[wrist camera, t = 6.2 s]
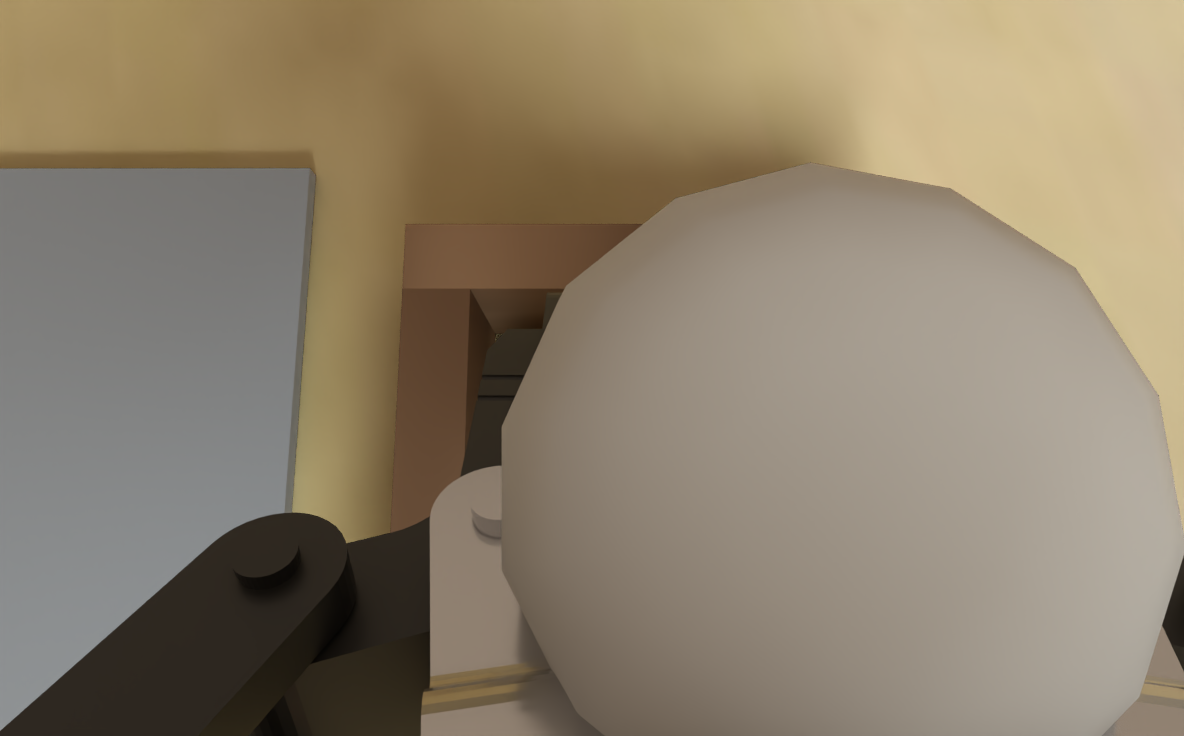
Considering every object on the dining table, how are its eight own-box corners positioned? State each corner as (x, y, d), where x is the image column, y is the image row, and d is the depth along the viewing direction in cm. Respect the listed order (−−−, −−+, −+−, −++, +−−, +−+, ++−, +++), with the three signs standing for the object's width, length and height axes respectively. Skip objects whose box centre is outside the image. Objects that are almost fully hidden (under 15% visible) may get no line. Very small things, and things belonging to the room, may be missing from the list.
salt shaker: (601, 334, 18) (601, -141, 5) (847, 439, 17) (1524, 201, 5) (487, 587, 17) (138, 770, 4) (745, 706, 16) (1248, 1330, 4)
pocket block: (423, 764, 16) (375, 828, 13) (442, 281, 18) (405, 224, 15) (928, 768, 16) (1016, 833, 13) (895, 281, 18) (964, 223, 15)
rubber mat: (-226, 786, 16) (-247, 792, 16) (-118, 176, 19) (-133, 168, 18) (271, 790, 16) (263, 796, 16) (315, 175, 19) (309, 168, 18)
